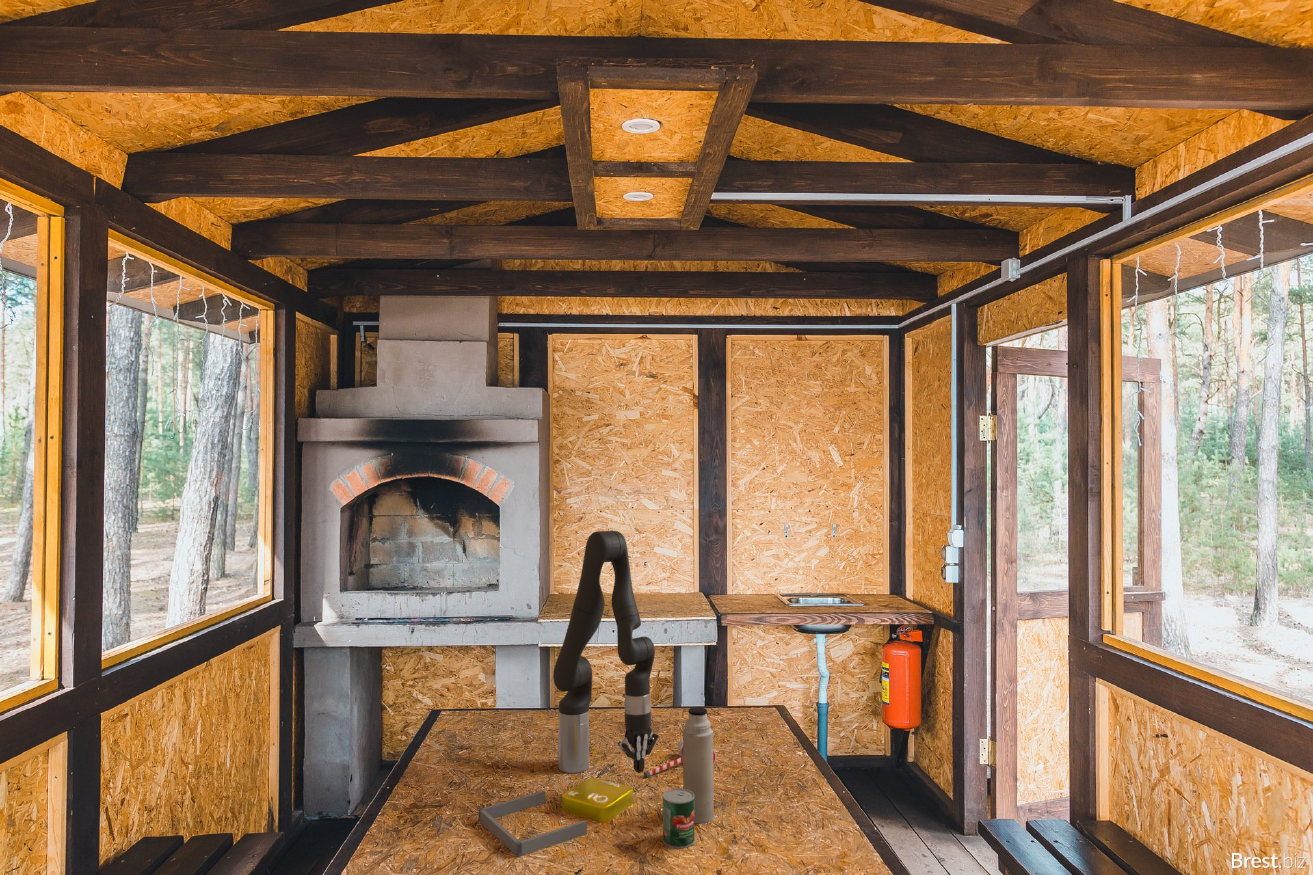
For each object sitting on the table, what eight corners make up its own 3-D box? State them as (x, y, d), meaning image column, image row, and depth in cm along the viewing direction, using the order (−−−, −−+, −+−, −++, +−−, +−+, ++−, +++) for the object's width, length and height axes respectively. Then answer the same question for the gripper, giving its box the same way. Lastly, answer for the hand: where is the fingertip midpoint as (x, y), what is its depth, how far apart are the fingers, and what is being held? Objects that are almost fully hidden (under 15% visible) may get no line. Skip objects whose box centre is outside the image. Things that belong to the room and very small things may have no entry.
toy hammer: (657, 785, 222) (656, 763, 222) (634, 772, 231) (634, 751, 232) (716, 766, 235) (716, 745, 235) (693, 755, 245) (692, 734, 245)
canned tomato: (684, 851, 183) (684, 805, 184) (656, 843, 188) (656, 797, 188) (700, 837, 190) (700, 792, 190) (673, 829, 194) (673, 785, 195)
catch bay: (478, 820, 200) (478, 809, 200) (543, 801, 211) (543, 790, 211) (517, 857, 181) (517, 844, 181) (586, 833, 192) (586, 821, 193)
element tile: (636, 802, 210) (636, 785, 211) (605, 825, 198) (605, 806, 198) (591, 791, 218) (591, 774, 218) (558, 811, 205) (558, 793, 205)
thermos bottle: (688, 807, 207) (687, 702, 208) (717, 811, 204) (716, 705, 205) (679, 820, 199) (678, 712, 200) (709, 825, 197) (708, 715, 197)
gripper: (648, 701, 223) (650, 762, 223) (610, 710, 215) (612, 773, 215) (664, 707, 217) (665, 769, 217) (625, 717, 209) (627, 781, 209)
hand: (639, 771), depth 216 cm, fingers closed
